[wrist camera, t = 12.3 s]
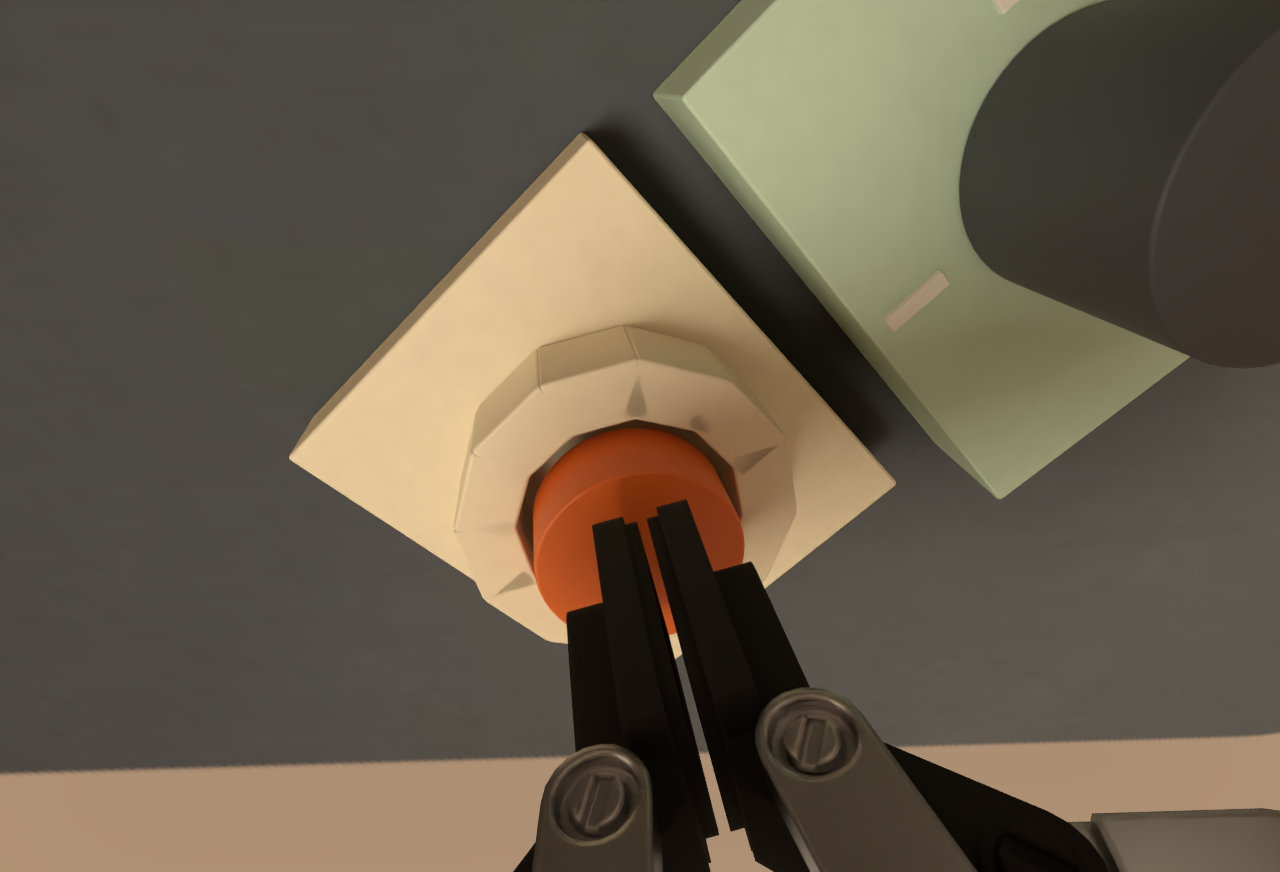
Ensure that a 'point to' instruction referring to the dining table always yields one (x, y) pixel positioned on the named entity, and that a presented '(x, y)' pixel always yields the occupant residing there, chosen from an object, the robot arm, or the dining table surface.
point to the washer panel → (904, 213)
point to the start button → (624, 510)
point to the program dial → (1141, 173)
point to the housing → (579, 391)
